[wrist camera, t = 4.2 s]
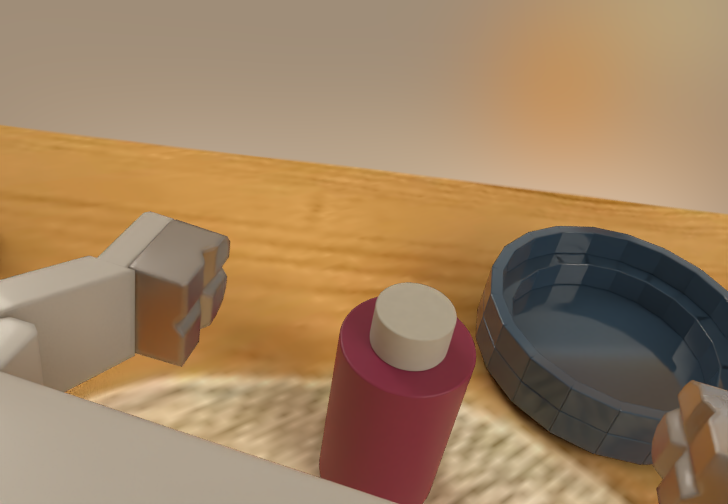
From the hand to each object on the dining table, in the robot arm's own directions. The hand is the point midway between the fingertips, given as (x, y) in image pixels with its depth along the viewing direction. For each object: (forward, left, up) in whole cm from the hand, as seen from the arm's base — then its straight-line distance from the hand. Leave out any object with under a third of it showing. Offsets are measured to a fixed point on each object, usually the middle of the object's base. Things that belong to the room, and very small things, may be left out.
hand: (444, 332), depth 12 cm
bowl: (-12, -22, -20) cm, 32 cm away
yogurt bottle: (0, -11, -20) cm, 23 cm away
